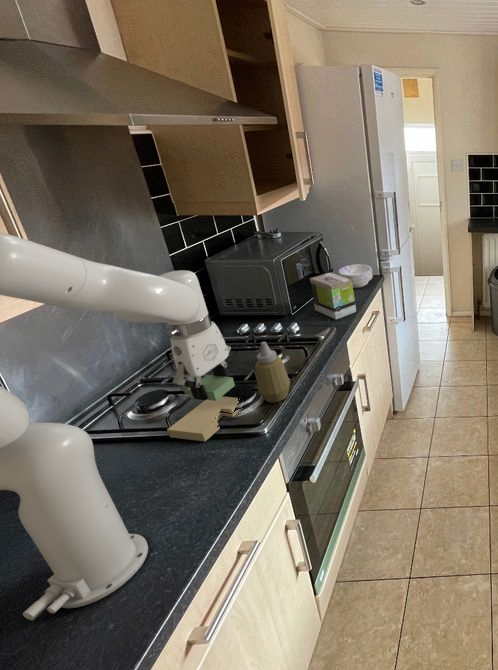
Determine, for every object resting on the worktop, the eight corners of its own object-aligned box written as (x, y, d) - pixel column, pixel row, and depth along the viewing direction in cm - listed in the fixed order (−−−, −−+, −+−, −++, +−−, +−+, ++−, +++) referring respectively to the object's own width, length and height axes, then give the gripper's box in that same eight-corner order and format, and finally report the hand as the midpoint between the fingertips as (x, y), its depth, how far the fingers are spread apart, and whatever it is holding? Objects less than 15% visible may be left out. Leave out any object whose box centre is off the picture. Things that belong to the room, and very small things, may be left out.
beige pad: (205, 441, 104) (202, 433, 103) (169, 437, 105) (166, 429, 104) (245, 405, 116) (243, 398, 115) (214, 402, 118) (211, 395, 117)
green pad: (216, 400, 98) (213, 392, 97) (180, 397, 99) (176, 388, 98) (235, 385, 103) (232, 377, 102) (200, 382, 104) (197, 373, 103)
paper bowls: (371, 289, 195) (369, 273, 192) (337, 291, 192) (334, 275, 189) (375, 277, 208) (373, 263, 205) (343, 279, 206) (341, 264, 203)
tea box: (357, 311, 172) (352, 278, 167) (335, 320, 165) (329, 286, 159) (336, 302, 181) (330, 271, 175) (314, 310, 173) (308, 277, 167)
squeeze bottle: (279, 407, 116) (265, 352, 109) (254, 403, 117) (238, 348, 110) (298, 390, 123) (286, 337, 116) (274, 386, 125) (261, 334, 118)
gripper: (171, 345, 85) (197, 415, 92) (234, 309, 101) (251, 371, 108) (139, 343, 86) (167, 412, 93) (206, 307, 102) (226, 368, 109)
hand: (212, 389), depth 101 cm, fingers closed on green pad, 6 cm apart
